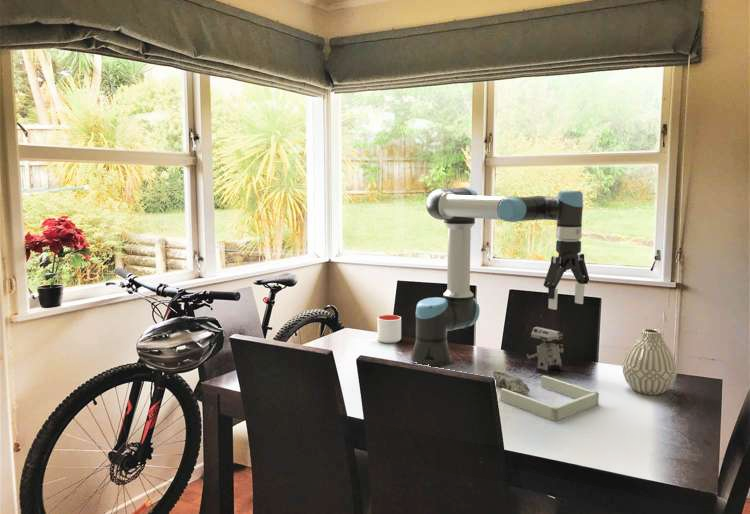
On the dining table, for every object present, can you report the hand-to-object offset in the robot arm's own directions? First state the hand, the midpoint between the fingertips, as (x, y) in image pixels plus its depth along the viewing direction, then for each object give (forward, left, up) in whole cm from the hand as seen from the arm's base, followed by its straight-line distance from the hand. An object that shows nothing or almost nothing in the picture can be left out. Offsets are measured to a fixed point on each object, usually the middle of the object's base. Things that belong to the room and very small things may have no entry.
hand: (566, 306), depth 193 cm
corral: (+4, -12, -28) cm, 31 cm away
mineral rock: (-11, -12, -28) cm, 33 cm away
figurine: (-17, +13, -28) cm, 35 cm away
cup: (-81, -8, -28) cm, 86 cm away
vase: (+17, +22, -28) cm, 39 cm away
